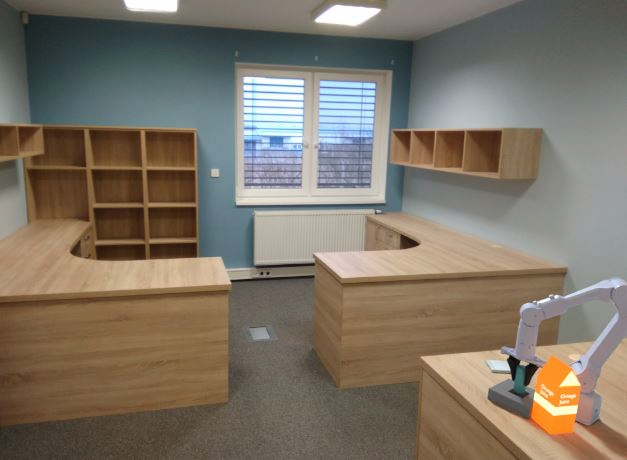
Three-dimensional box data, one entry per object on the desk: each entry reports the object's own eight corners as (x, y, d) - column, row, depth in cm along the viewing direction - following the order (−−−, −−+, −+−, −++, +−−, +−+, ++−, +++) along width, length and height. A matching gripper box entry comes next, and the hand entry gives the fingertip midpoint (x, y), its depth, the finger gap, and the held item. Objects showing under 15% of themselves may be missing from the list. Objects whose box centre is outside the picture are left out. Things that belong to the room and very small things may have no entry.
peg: (527, 391, 160) (530, 367, 159) (522, 394, 158) (525, 371, 156) (516, 386, 163) (519, 363, 161) (511, 390, 160) (514, 366, 158)
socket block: (548, 406, 159) (550, 396, 159) (528, 418, 152) (530, 408, 151) (507, 388, 170) (508, 378, 169) (487, 398, 162) (488, 388, 162)
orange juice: (550, 434, 144) (560, 369, 140) (530, 417, 153) (539, 355, 149) (573, 432, 146) (584, 368, 142) (552, 415, 155) (562, 354, 151)
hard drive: (518, 360, 189) (484, 359, 189) (526, 371, 181) (492, 369, 181) (517, 365, 189) (484, 363, 189) (526, 375, 181) (491, 373, 181)
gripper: (555, 346, 154) (549, 388, 157) (510, 331, 165) (505, 370, 167) (545, 352, 150) (538, 394, 152) (499, 336, 160) (494, 376, 163)
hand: (520, 382), depth 159 cm, fingers closed on peg, 3 cm apart
